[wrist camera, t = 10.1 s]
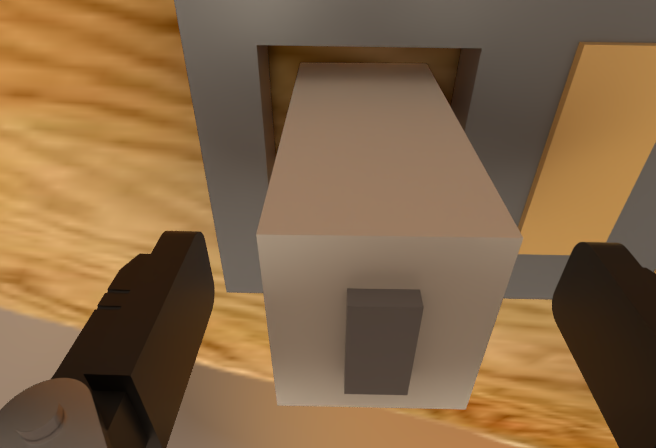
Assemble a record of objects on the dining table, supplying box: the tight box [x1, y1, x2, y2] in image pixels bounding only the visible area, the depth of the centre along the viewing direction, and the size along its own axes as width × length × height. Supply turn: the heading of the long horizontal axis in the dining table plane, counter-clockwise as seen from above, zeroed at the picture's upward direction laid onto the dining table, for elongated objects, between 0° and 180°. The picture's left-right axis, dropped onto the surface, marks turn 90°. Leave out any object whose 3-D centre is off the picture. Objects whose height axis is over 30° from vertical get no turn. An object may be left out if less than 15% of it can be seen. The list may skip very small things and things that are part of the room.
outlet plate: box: [174, 0, 656, 299], centre depth 14 cm, size 16×12×2 cm
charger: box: [256, 63, 523, 409], centre depth 11 cm, size 4×5×9 cm
